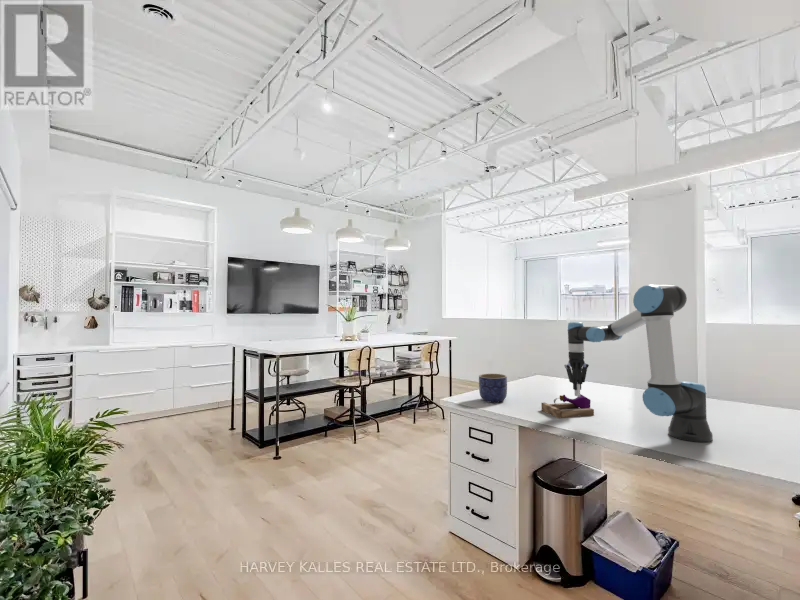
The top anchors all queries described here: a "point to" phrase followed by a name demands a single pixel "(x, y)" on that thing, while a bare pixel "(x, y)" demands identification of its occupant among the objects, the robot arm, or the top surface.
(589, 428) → the top surface
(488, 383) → the planter
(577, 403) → the purple potion bottle
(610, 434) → the top surface
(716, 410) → the top surface
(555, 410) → the u rest
